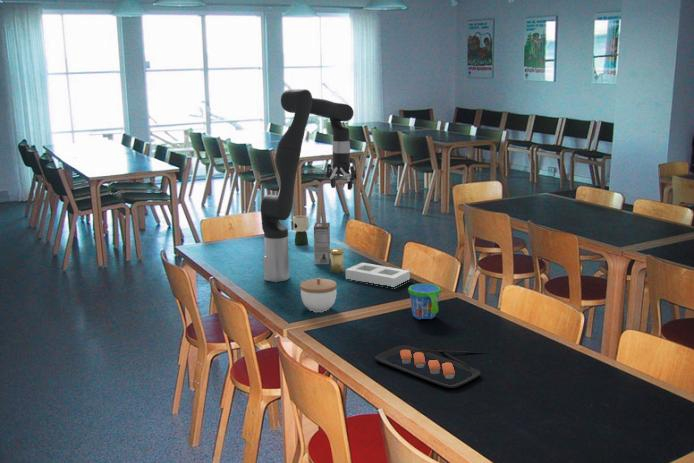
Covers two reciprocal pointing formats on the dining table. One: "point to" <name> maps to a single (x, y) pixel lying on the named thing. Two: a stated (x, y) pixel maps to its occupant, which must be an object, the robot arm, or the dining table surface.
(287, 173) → the robot arm
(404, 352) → the sushi plate
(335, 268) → the gold piece
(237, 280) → the dining table surface
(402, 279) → the frame
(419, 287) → the snack cup
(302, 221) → the character mug
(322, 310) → the lidded bowl
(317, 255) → the coffee box
